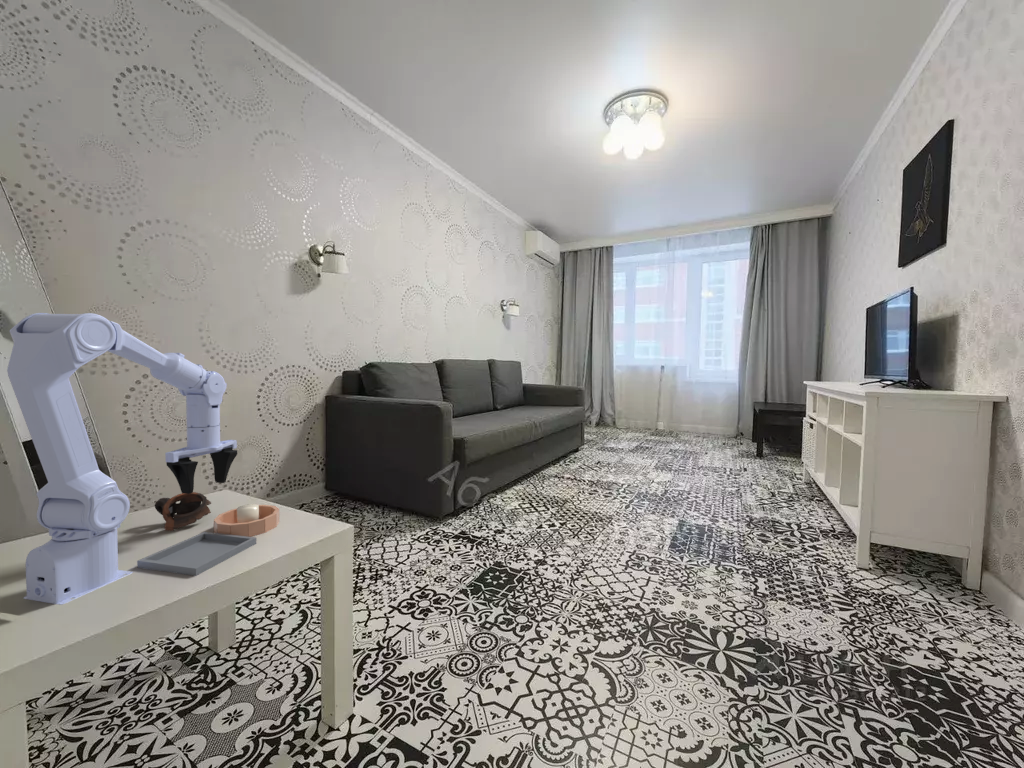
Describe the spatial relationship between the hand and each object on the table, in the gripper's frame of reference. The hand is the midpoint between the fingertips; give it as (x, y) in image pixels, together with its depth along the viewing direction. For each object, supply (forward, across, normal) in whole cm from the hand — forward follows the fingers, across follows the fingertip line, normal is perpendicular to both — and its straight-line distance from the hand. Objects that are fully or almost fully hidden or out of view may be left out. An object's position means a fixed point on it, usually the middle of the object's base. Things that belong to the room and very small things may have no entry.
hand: (204, 487), depth 86 cm
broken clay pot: (+10, +1, +8) cm, 12 cm away
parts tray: (+9, -10, -11) cm, 18 cm away
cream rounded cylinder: (+9, +2, -9) cm, 13 cm away
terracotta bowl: (+9, +2, -9) cm, 13 cm away
